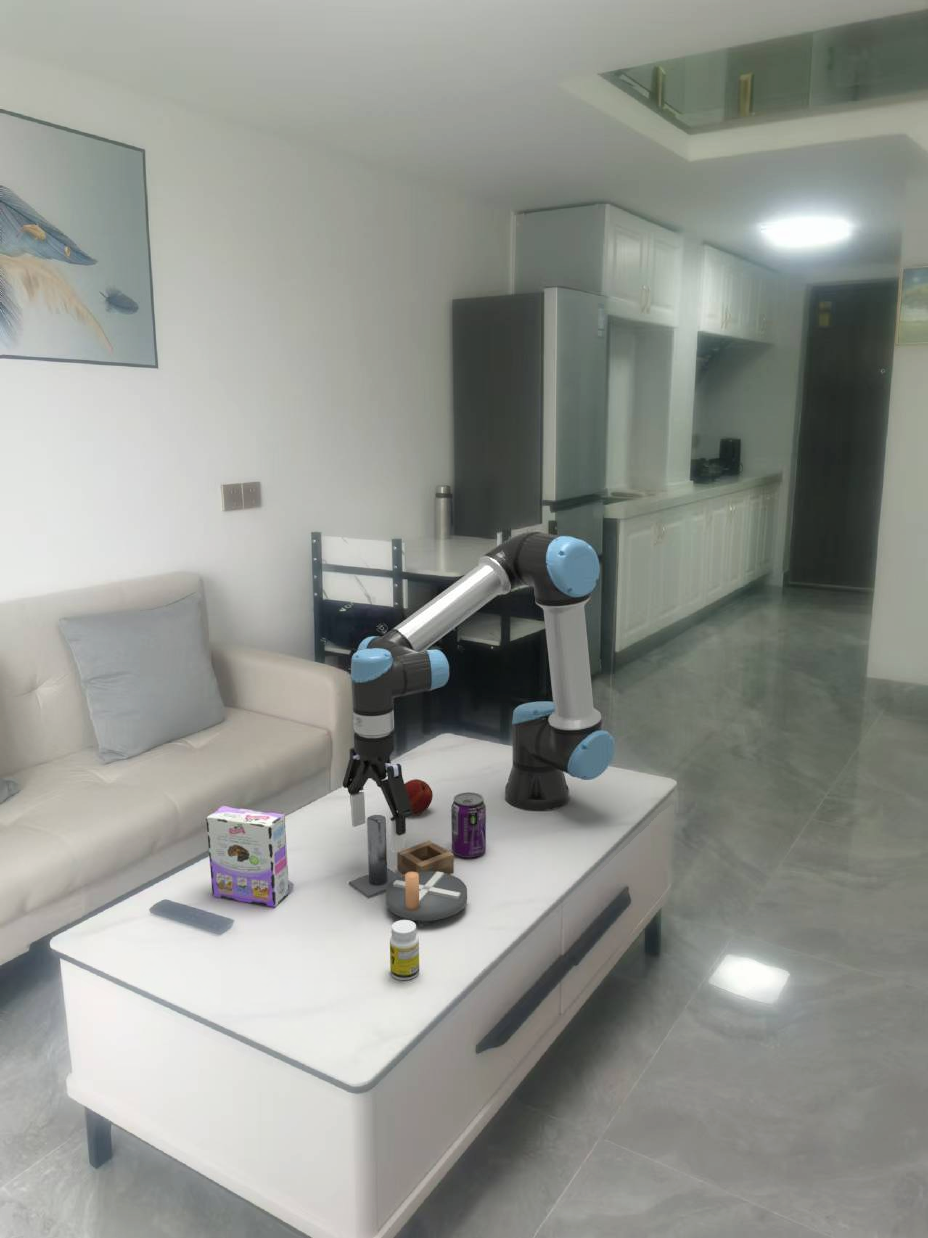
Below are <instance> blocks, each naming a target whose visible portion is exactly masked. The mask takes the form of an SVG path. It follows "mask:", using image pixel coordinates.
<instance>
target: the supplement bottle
mask: <svg viewBox="0 0 928 1238" xmlns="http://www.w3.org/2000/svg"><path fill="white" fill-rule="evenodd" d="M390 933H391V935H390V938H389V955H390V957H389V959H390V960H389V963H390V974H391V976H392V977H393V978H394V979H396V980H399V981H407V980H408V981H409V980H411V979H414V978H416V977H418V975H419V974H420V942H419V940H420V938H419V935H418V934H417V925H416V922H414V921H413V920H411V919H400V920H397V921H395V922H393V923H392V924H391V931H390Z"/></svg>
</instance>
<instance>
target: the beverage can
mask: <svg viewBox="0 0 928 1238" xmlns="http://www.w3.org/2000/svg"><path fill="white" fill-rule="evenodd" d="M486 811H487V807H486V804H485V801H484V797H483V795H482V794H479V793H476V792H470V791H469V792H461V793H458V794H455V796H453V802H452V804H451V816H450V817H451V851H452V853H453V854H455V855H457V856H460V857H462V858H468V859H469V858H475V857H478V856H481V855H483V854H484V853H485V852H486V850H487V827H486V825H487V824H486V822H487V821H486V819H487V816H486V815H487V813H486Z"/></svg>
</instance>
